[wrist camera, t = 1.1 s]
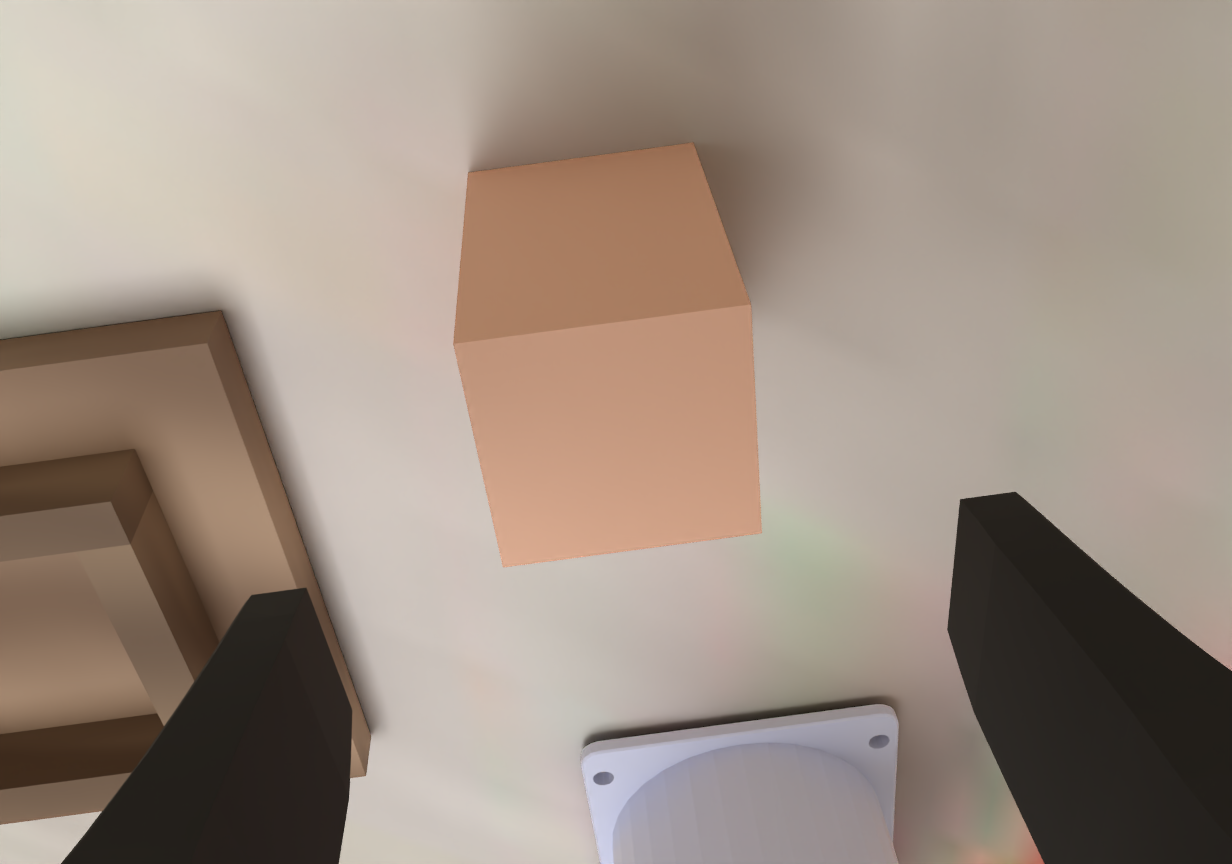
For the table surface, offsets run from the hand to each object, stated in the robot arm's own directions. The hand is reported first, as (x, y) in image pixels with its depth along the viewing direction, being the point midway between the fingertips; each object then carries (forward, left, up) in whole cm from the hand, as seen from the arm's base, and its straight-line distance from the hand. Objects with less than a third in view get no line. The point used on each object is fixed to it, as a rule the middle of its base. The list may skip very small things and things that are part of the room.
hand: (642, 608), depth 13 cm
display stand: (-7, +13, -10) cm, 18 cm away
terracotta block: (-1, 0, -10) cm, 10 cm away
